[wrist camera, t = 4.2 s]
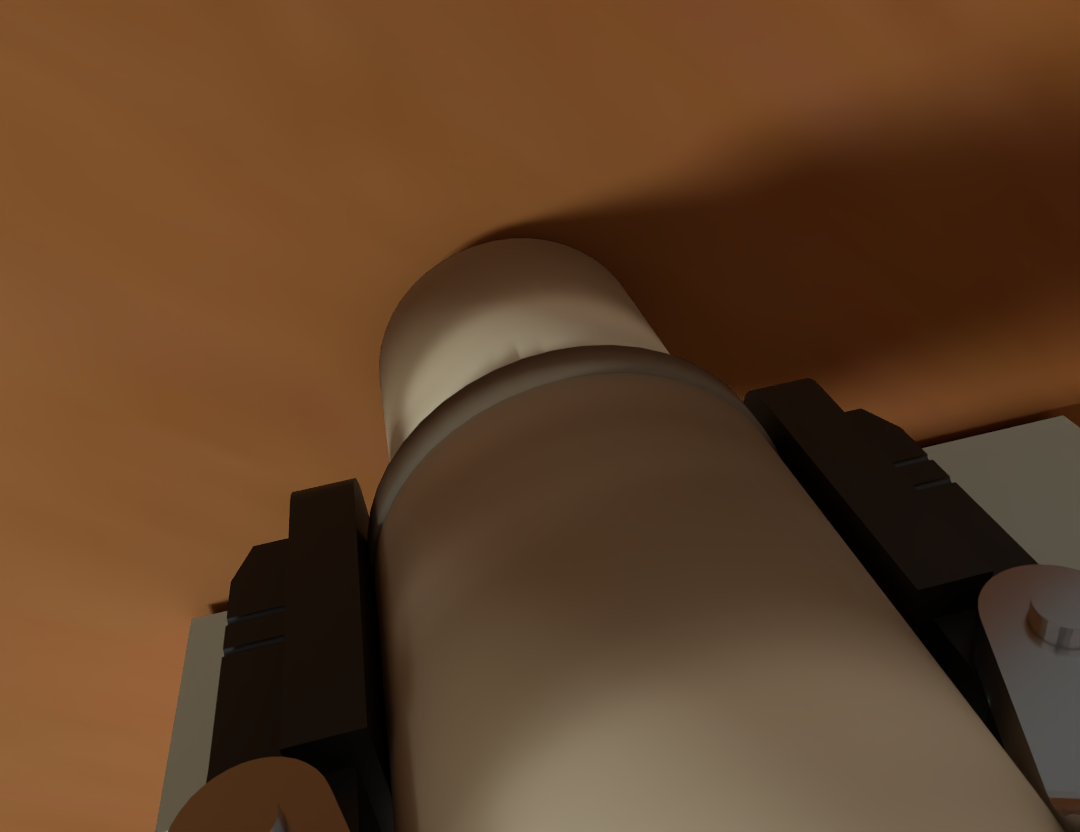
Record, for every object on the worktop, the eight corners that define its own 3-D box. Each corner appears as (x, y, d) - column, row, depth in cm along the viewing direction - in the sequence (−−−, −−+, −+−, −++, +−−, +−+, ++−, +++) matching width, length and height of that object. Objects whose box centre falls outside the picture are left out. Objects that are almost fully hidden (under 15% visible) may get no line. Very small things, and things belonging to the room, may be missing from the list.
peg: (318, 250, 12) (319, 2104, 2) (654, 185, 13) (1936, 1440, 3) (392, 519, 15) (553, 1932, 5) (669, 455, 15) (1346, 1611, 5)
